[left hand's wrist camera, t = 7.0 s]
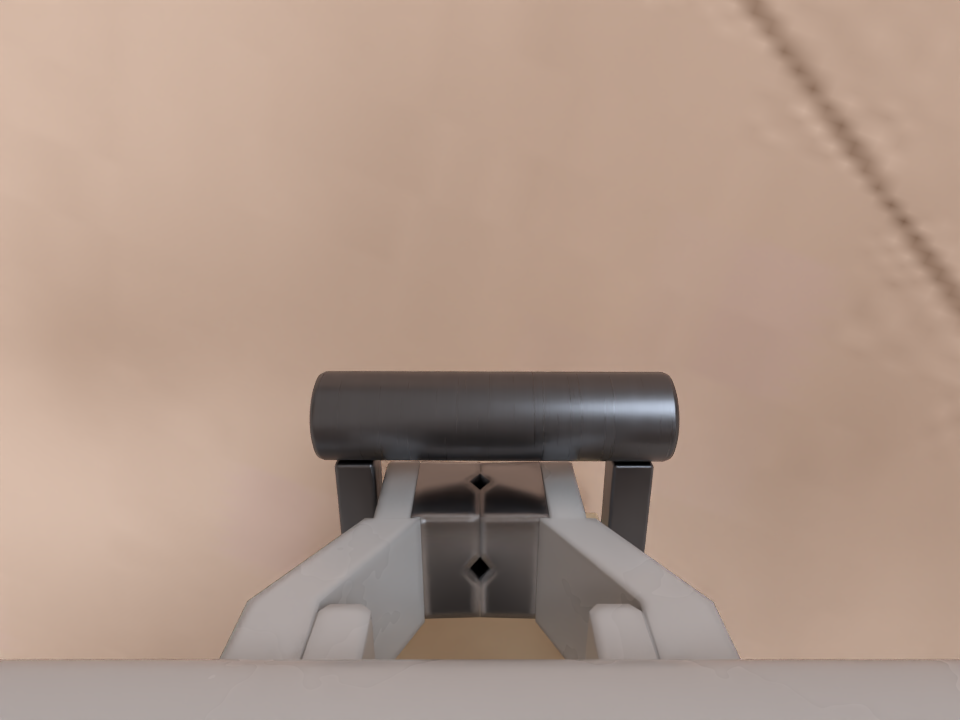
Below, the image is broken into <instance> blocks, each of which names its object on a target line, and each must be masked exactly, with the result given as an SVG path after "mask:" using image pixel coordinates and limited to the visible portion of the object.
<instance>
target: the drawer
mask: <svg viewBox="0 0 960 720" xmlns="http://www.w3.org/2000/svg"><path fill="white" fill-rule="evenodd" d="M310 433H311V440H312V444H313V448H314V451H315V453H316V455H317V456H318V457H319V458H321V459H324V460H337V462H336V464H335V474H336V484H337V494H338V504H339V515H340V525H341V535H342V534H343V533H345V532H346V531H347V530H349V529H350V528H352V527H353V526H354V525H356V524H357V523H359V522H360V521H361V520H363V519H364V518H374V514H375V510H376V507H377V503H378V499H379V495H380V492H381V488H382V470H381V460H453V461H606V465H605V478H604V491H603V504H602V516H601V523H603V524H604V525H606V526H607V527H608V528H610V529H611V530H613V531H614V532H615V533H617V534H618V535H620V536H621V537H622V538H624V539H625V540H627V541H628V542H630V543H631V544H632V545H634V546H635V547H637V548H638V549H639V550H641V551H642V552H644V550H645V541H646V532H647V523H648V513H649V504H650V495H651V486H652V477H653V465H652V463H651V461H666V460H668V459H670V458H671V457H672V456H673V454H674V451H675V448H676V445H677V440H678V434H679V405H678V398H677V394H676V390H675V387H674V384H673V381H672V379H671V378H670V376H669V375H667V374H665V373H663V372H430V371H327V372H324V373H322V374H320V375H319V376H318V378H317V380H316V383H315V386H314V389H313V392H312V397H311V404H310ZM585 514H586V518H596V519H597V520H599V519H598V515H597V514H596V513H585ZM396 659H565V658H564V657H563V656H562V655H561V653H560V652H559V651H558V649H557V648H556V647H555V646H554V644H553V643H552V642H551V641H550V639H549V638H548V637H547V636H546V634H545V633H544V632H543V630H542V629H541V628H540V627H539V625H538V624H537V623H536V622H535V619H522V618H486V617H473V618H437V619H425V622H424V623H423V625H422V626H421V627H420V629H419V630H418V631H417V632H416V634H415V635H414V636H413V637H412V639H411V640H410V641H409V642H408V644H407V645H406V646H405V647H404V649H403V650H402V651H401V653H400V654H399V655H398V656H397V658H396Z"/></svg>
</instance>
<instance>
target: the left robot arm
mask: <svg viewBox="0 0 960 720" xmlns="http://www.w3.org/2000/svg"><path fill="white" fill-rule="evenodd" d="M473 617H486V618H522V619H535V622H536V623H537V624H538V625H539V627H540V628H541V629H542V630H543V632H544V633H545V634H546V636H547V637H548V638H549V639H550V641H551V642H552V643H553V644H554V646H555V647H556V648H557V649H558V651H559V652H560V653H561V655H562V656H563V657H564V658H565V659H396V658H397V656H398V655H399V654H400V653H401V651H402V650H403V649H404V647H405V646H406V645H407V644H408V642H409V641H410V640H411V639H412V637H413V636H414V635H415V634H416V632H417V631H418V630H419V629H420V627H421V626H422V625H423V623H424V622H425V619H437V618H473ZM0 720H960V659H740V657H739V655H738V653H737V650H736V648H735V646H734V644H733V642H732V640H731V638H730V636H729V634H728V632H727V630H726V628H725V625H724V623H723V621H722V619H721V617H720V615H719V613H718V611H717V609H716V607H715V605H714V602H712V601H711V600H710V599H708V598H707V597H705V596H704V595H703V594H701V593H700V592H698V591H697V590H696V589H694V588H693V587H691V586H690V585H689V584H687V583H686V582H684V581H683V580H682V579H680V578H679V577H677V576H676V575H675V574H673V573H672V572H670V571H669V570H667V569H666V568H665V567H663V566H662V565H660V564H659V563H658V562H656V561H655V560H653V559H652V558H651V557H649V556H648V555H646V554H645V553H644V552H642V551H641V550H639V549H638V548H637V547H635V546H634V545H632V544H631V543H630V542H628V541H627V540H625V539H624V538H622V537H621V536H620V535H618V534H617V533H615V532H614V531H613V530H611V529H610V528H608V527H607V526H606V525H604V524H603V523H601V522H600V521H599V520H597V519H596V518H586V514H585V510H584V507H583V503H582V499H581V496H580V492H579V488H578V485H577V481H576V477H575V474H574V470H573V466H572V463H571V462H570V461H550V462H509V463H477V462H425V461H422V462H421V463H420V462H419V461H391V462H390V463H389V464H388V466H387V469H386V473H385V477H384V480H383V484H382V488H381V492H380V495H379V499H378V503H377V507H376V510H375V514H374V518H364V519H363V520H361V521H360V522H359V523H357V524H356V525H354V526H353V527H352V528H350V529H349V530H347V531H346V532H345V533H343V534H342V535H340V536H339V537H337V538H336V539H335V540H333V541H332V542H330V543H329V544H328V545H326V546H325V547H323V548H322V549H321V550H319V551H318V552H316V553H315V554H313V555H312V556H311V557H309V558H308V559H306V560H305V561H304V562H302V563H301V564H299V565H298V566H296V567H295V568H294V569H292V570H291V571H289V572H288V573H287V574H285V575H284V576H282V577H281V578H280V579H278V580H277V581H275V582H274V583H272V584H271V585H270V586H268V587H267V588H265V589H264V590H263V591H261V592H260V593H258V594H257V595H255V596H254V597H253V598H251V599H250V600H248V601H247V603H246V605H245V607H244V609H243V611H242V614H241V616H240V618H239V620H238V622H237V624H236V626H235V628H234V630H233V632H232V634H231V636H230V638H229V640H228V642H227V644H226V646H225V649H224V651H223V653H222V655H221V657H220V659H0Z"/></svg>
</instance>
